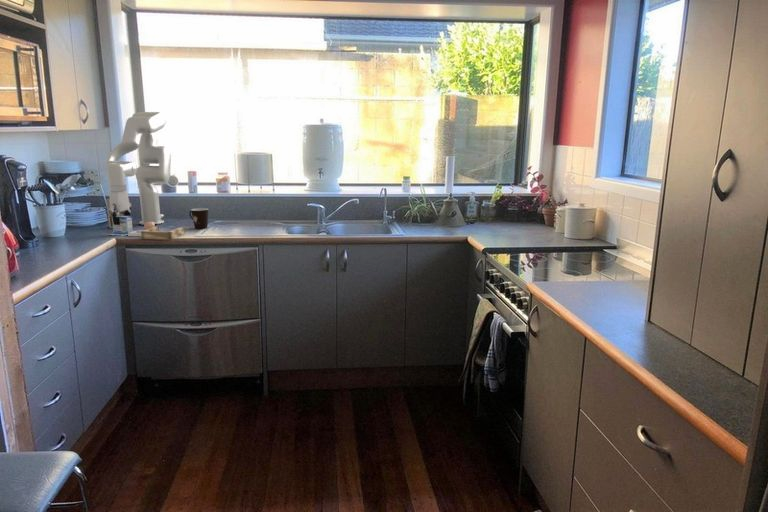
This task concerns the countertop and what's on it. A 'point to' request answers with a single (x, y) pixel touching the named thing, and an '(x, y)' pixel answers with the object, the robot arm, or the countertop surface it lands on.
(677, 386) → the countertop surface
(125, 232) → the medicine box
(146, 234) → the cubby
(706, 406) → the countertop surface
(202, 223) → the coffee mug
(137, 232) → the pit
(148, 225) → the peach rounded capsule
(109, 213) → the coffee box
